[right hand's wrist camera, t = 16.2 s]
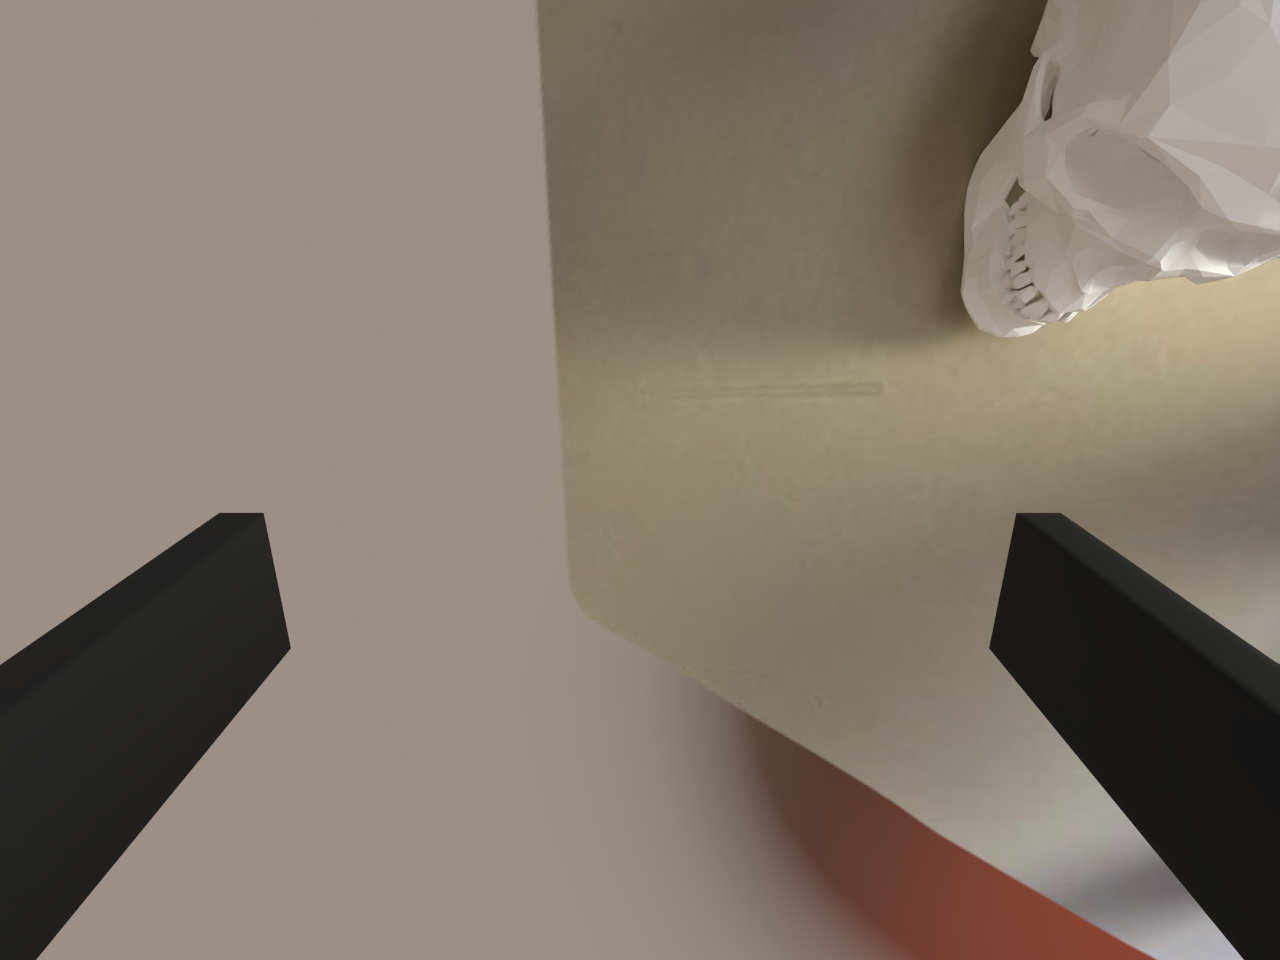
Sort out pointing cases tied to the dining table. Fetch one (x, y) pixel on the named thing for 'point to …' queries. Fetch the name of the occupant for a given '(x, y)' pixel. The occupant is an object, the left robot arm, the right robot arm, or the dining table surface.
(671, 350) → the dining table surface
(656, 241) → the dining table surface
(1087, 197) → the skull
